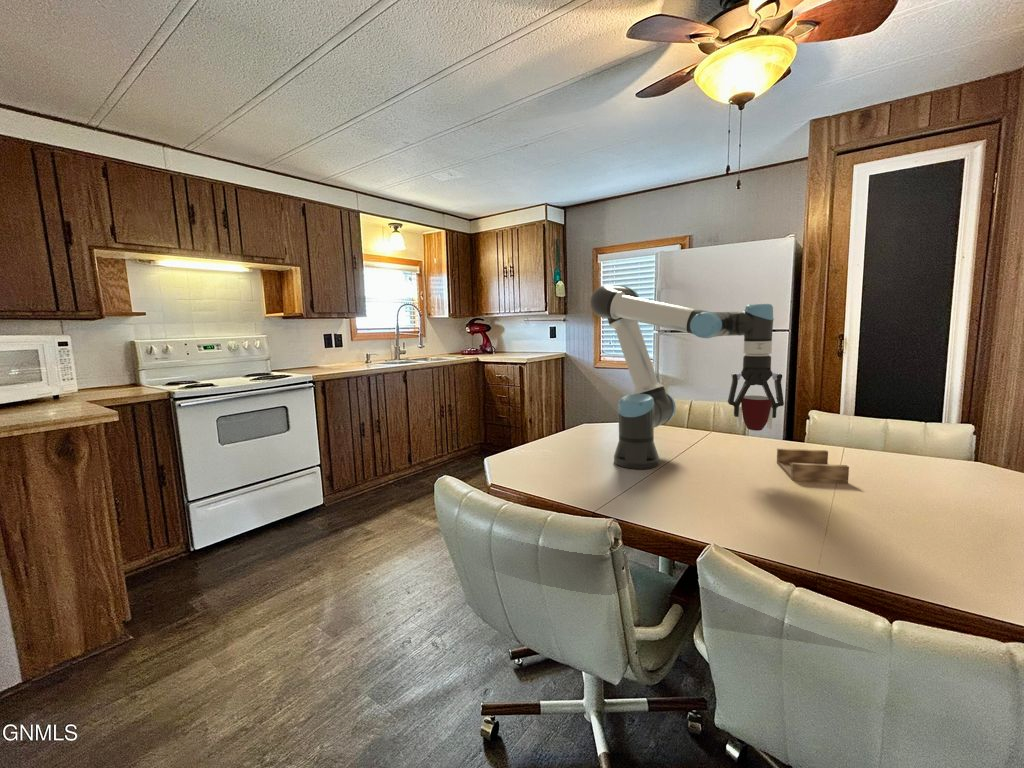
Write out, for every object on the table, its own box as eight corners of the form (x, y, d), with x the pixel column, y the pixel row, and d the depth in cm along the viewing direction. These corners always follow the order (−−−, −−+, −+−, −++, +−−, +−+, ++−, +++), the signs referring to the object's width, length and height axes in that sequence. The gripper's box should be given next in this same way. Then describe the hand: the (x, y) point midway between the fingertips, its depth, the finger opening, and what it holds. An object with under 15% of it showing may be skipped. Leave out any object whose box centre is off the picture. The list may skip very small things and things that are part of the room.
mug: (736, 423, 144) (738, 393, 142) (764, 425, 141) (766, 394, 140) (742, 431, 134) (744, 399, 132) (772, 433, 131) (774, 400, 130)
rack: (792, 480, 130) (793, 464, 129) (776, 463, 146) (777, 448, 146) (848, 483, 126) (849, 466, 125) (825, 465, 142) (826, 450, 141)
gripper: (722, 356, 134) (719, 428, 137) (799, 355, 128) (795, 431, 131) (718, 354, 141) (716, 423, 144) (792, 353, 135) (788, 425, 138)
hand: (753, 427), depth 137 cm, fingers closed on mug, 8 cm apart
